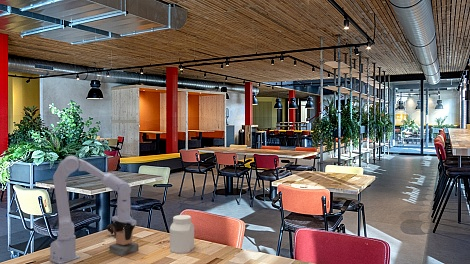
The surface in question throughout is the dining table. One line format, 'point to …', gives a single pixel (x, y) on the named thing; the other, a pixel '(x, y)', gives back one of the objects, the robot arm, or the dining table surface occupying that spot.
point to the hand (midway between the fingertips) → (123, 238)
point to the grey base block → (123, 248)
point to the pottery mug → (112, 229)
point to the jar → (181, 234)
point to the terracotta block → (122, 238)
